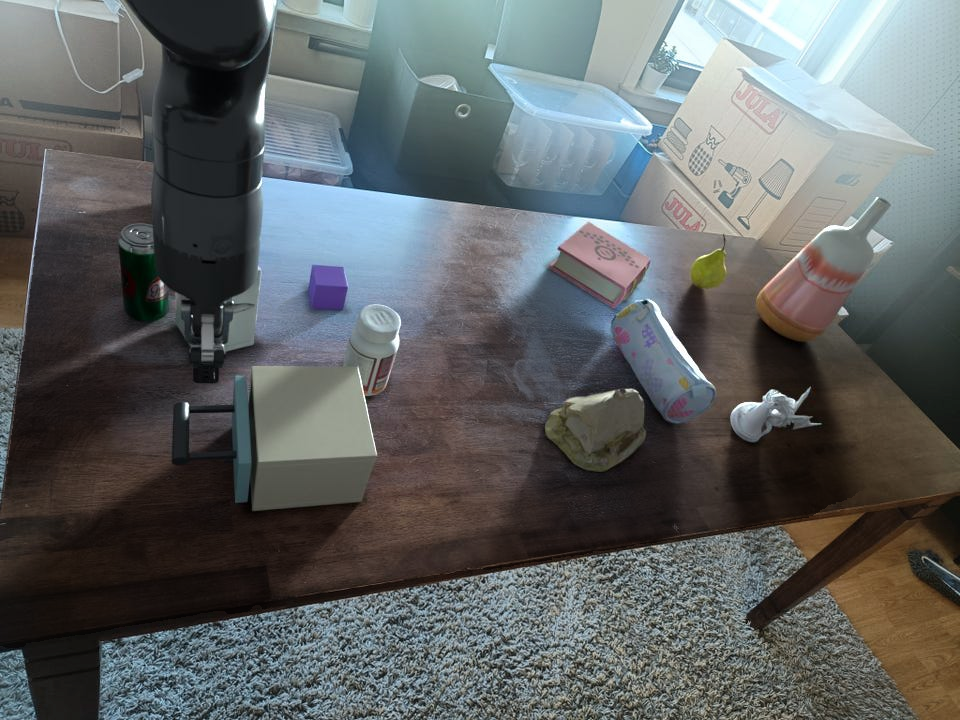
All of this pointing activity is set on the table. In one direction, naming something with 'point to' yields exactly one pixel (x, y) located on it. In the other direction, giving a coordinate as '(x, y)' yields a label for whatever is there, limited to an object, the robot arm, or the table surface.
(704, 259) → the fruit
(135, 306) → the soda can
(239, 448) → the drawer
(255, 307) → the white packaging box
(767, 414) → the figurine
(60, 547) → the table surface
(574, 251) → the book
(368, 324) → the pill bottle
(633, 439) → the beige rock
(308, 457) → the block
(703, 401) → the pencil case
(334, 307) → the purple cube
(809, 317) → the vase
